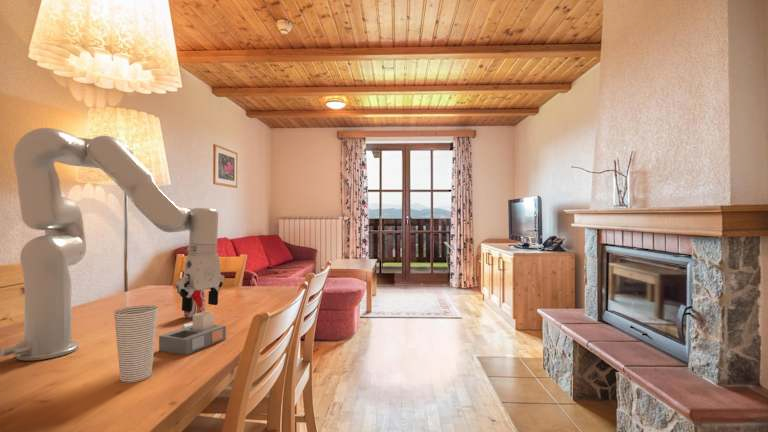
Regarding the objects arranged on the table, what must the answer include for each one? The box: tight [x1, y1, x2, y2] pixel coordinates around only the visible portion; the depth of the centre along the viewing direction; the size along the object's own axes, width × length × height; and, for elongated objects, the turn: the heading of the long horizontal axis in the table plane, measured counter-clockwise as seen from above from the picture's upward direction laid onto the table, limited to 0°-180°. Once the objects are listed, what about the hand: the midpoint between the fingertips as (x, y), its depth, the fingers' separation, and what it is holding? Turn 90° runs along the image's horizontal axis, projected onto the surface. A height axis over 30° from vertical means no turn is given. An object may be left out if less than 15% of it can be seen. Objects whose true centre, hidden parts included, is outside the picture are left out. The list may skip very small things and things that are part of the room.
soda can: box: [183, 289, 206, 319], centre depth 142 cm, size 7×7×12 cm
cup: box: [113, 305, 159, 383], centre depth 88 cm, size 8×8×16 cm
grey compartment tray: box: [158, 323, 227, 356], centre depth 111 cm, size 14×10×4 cm
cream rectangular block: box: [192, 311, 215, 331], centre depth 114 cm, size 4×4×8 cm
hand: (200, 307), depth 114 cm, fingers open, 9 cm apart
